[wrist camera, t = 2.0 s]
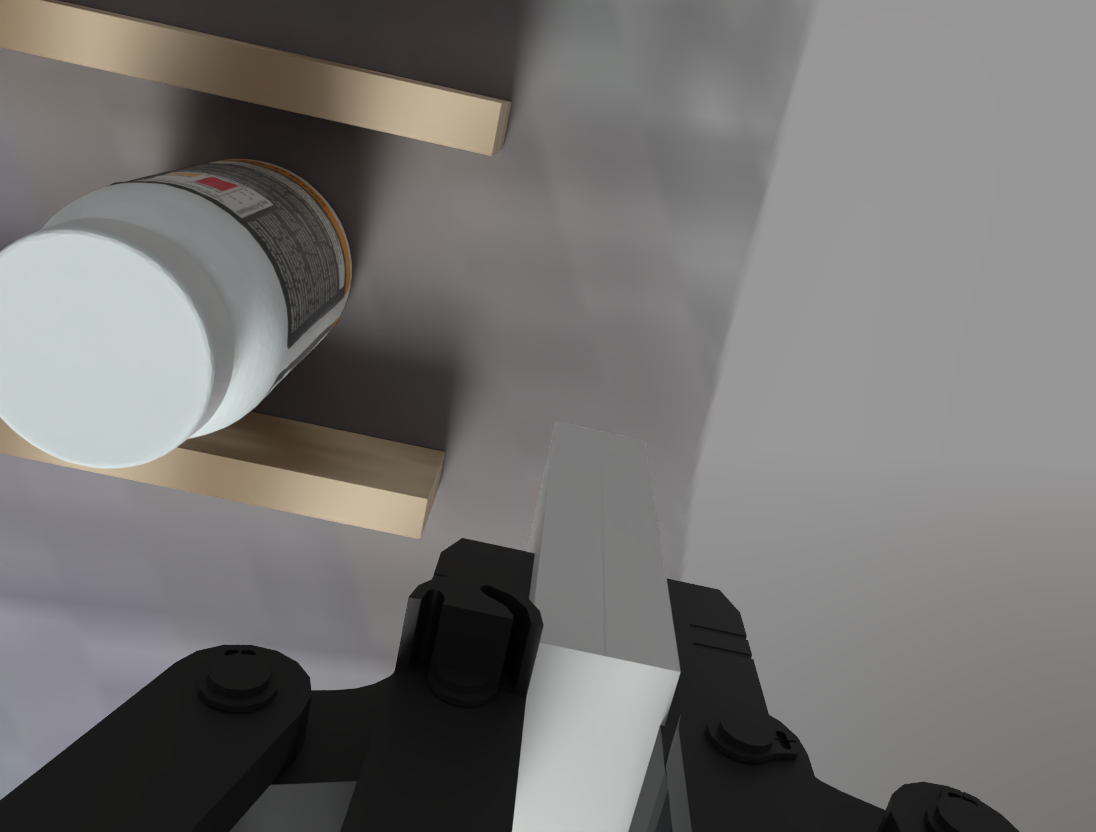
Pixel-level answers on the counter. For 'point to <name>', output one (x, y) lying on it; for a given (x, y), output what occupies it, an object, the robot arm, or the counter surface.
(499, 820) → the robot arm
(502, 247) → the counter surface
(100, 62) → the bay
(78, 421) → the pill bottle
